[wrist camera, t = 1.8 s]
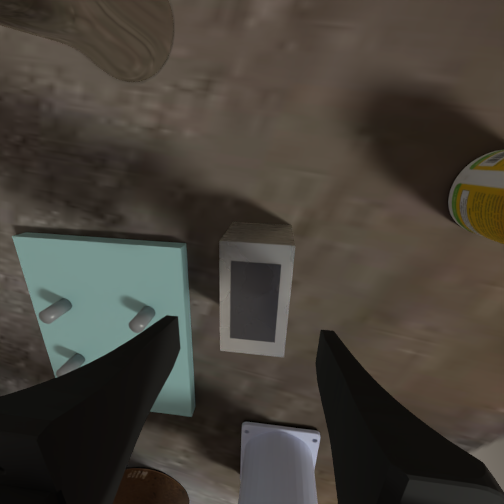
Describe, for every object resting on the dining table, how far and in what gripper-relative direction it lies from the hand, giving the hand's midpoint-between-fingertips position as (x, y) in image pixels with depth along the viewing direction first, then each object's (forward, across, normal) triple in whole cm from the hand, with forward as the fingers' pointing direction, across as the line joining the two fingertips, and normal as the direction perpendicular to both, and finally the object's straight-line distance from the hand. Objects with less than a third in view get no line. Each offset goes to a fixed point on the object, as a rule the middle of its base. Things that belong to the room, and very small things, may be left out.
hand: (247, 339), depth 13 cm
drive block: (+8, 0, 0) cm, 9 cm away
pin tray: (+8, +13, +7) cm, 17 cm away
